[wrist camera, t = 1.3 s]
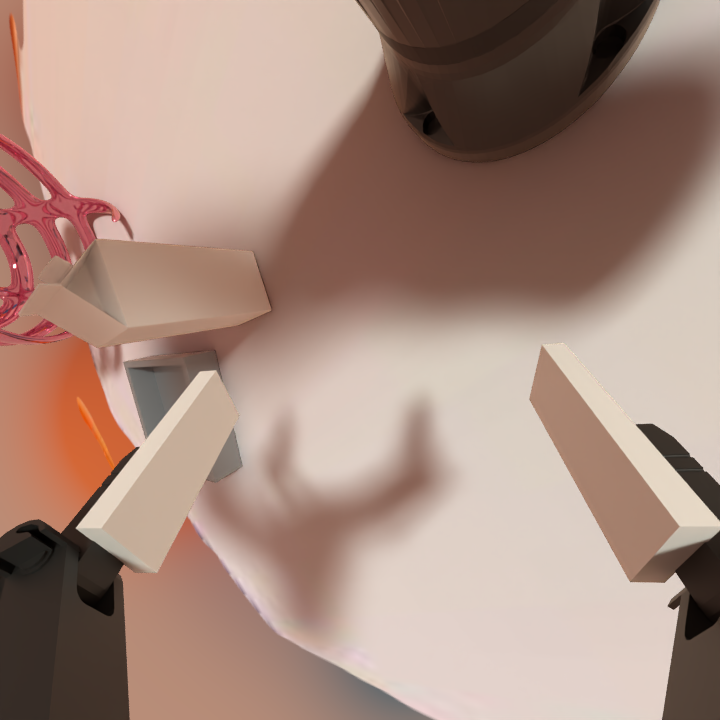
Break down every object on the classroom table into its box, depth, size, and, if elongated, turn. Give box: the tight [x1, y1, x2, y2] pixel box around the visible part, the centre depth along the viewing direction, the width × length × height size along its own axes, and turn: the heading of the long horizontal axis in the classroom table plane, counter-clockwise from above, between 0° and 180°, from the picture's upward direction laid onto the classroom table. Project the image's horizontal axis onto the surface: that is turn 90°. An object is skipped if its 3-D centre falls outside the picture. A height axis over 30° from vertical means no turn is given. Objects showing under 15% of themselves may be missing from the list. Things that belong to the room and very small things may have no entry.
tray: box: [123, 350, 242, 483], centre depth 48 cm, size 18×18×4 cm
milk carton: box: [18, 239, 271, 348], centre depth 30 cm, size 7×7×19 cm
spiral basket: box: [0, 134, 120, 346], centre depth 41 cm, size 28×28×27 cm
